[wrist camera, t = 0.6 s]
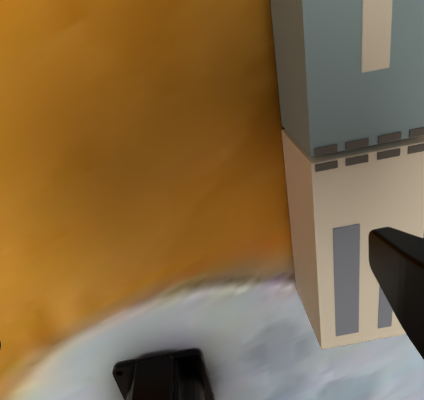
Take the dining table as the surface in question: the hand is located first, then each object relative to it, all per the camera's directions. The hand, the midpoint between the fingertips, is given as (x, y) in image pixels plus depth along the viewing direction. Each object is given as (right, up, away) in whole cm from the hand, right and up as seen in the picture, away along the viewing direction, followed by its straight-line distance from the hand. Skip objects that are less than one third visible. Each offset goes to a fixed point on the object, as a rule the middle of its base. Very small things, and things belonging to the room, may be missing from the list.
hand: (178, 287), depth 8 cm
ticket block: (+8, +1, +13) cm, 15 cm away
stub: (+6, +10, +9) cm, 15 cm away
